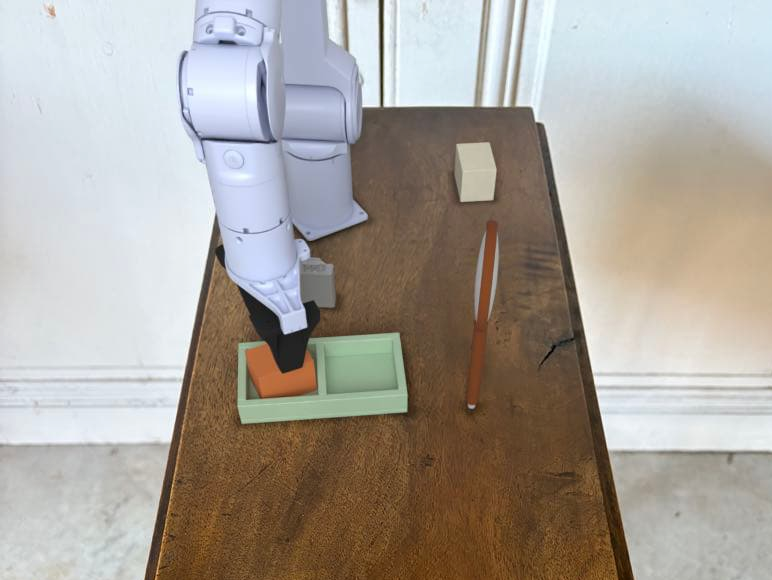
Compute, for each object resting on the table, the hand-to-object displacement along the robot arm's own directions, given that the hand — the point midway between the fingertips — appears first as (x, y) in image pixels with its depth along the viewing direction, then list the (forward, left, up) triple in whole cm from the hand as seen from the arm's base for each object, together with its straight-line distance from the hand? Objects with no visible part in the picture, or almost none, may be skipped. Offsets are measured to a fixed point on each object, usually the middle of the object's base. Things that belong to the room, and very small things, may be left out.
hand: (276, 340), depth 73 cm
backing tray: (+2, +3, -6) cm, 7 cm away
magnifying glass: (+12, +14, -7) cm, 20 cm away
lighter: (-10, +7, -7) cm, 14 cm away
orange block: (0, 0, -6) cm, 6 cm away
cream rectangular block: (-17, +34, -6) cm, 39 cm away
